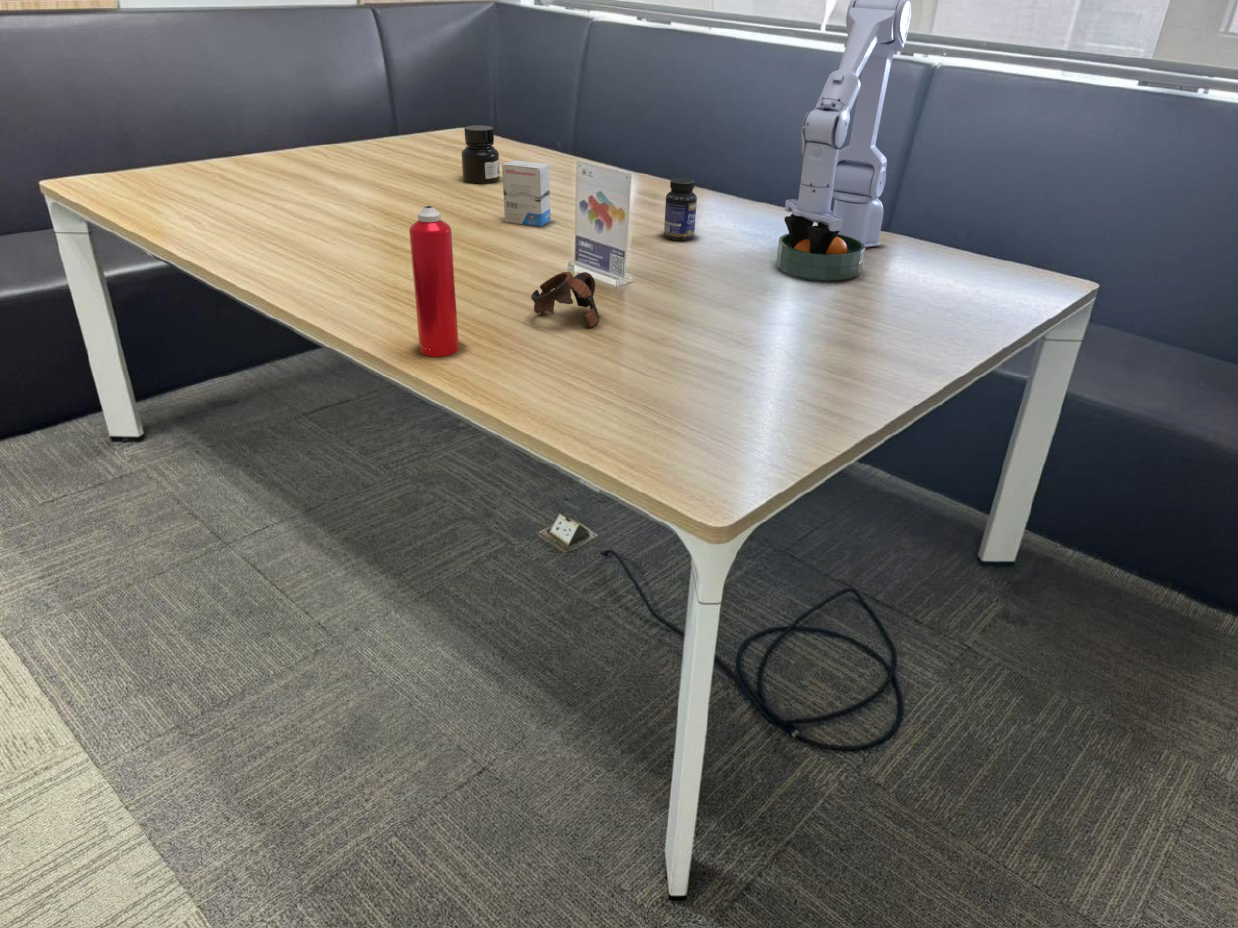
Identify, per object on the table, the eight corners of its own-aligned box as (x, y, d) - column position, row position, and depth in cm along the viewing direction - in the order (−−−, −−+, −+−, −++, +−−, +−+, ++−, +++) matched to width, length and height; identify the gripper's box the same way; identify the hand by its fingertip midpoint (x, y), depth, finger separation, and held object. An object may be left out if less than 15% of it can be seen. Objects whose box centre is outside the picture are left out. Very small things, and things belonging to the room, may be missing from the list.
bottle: (424, 359, 124) (412, 214, 114) (416, 344, 128) (403, 203, 118) (463, 353, 126) (454, 210, 116) (453, 339, 130) (443, 200, 120)
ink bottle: (497, 185, 213) (494, 132, 207) (459, 184, 213) (456, 131, 207) (502, 176, 221) (500, 125, 215) (466, 175, 221) (463, 123, 215)
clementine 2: (833, 259, 167) (838, 230, 165) (850, 267, 163) (855, 238, 161) (810, 262, 166) (814, 233, 163) (827, 270, 162) (831, 241, 159)
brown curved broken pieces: (588, 338, 133) (560, 292, 130) (542, 351, 139) (514, 307, 136) (621, 295, 141) (595, 250, 137) (576, 309, 147) (550, 266, 143)
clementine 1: (808, 262, 165) (812, 233, 163) (825, 271, 161) (830, 241, 159) (785, 265, 164) (788, 236, 161) (801, 274, 159) (805, 244, 157)
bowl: (827, 253, 173) (831, 228, 170) (877, 278, 161) (882, 250, 158) (760, 261, 167) (763, 235, 164) (807, 287, 155) (811, 259, 153)
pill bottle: (692, 242, 176) (696, 185, 171) (661, 240, 177) (664, 183, 172) (695, 234, 182) (699, 178, 176) (666, 231, 183) (669, 176, 177)
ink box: (551, 222, 187) (550, 163, 181) (540, 227, 182) (539, 168, 177) (514, 216, 189) (512, 159, 183) (503, 222, 185) (501, 163, 179)
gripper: (774, 176, 159) (765, 251, 166) (822, 195, 148) (811, 275, 155) (807, 173, 162) (797, 247, 169) (857, 192, 150) (844, 270, 157)
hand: (806, 260), depth 162 cm, fingers closed on clementine 1, 5 cm apart
